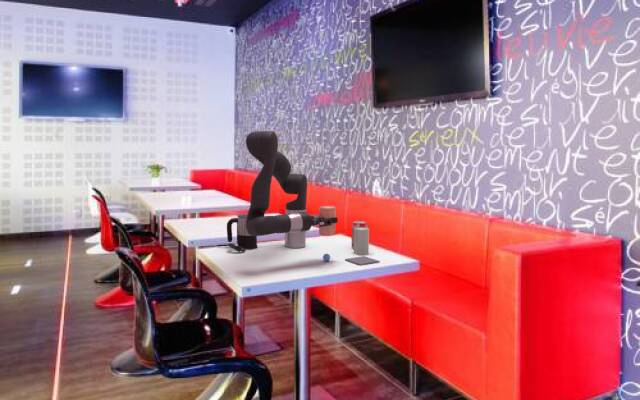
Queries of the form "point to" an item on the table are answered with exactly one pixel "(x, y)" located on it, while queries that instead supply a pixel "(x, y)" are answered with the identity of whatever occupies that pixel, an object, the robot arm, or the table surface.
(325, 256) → the marble
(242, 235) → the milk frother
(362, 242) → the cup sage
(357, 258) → the mat
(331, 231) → the cup terracotta
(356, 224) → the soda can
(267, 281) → the table surface
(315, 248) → the table surface
